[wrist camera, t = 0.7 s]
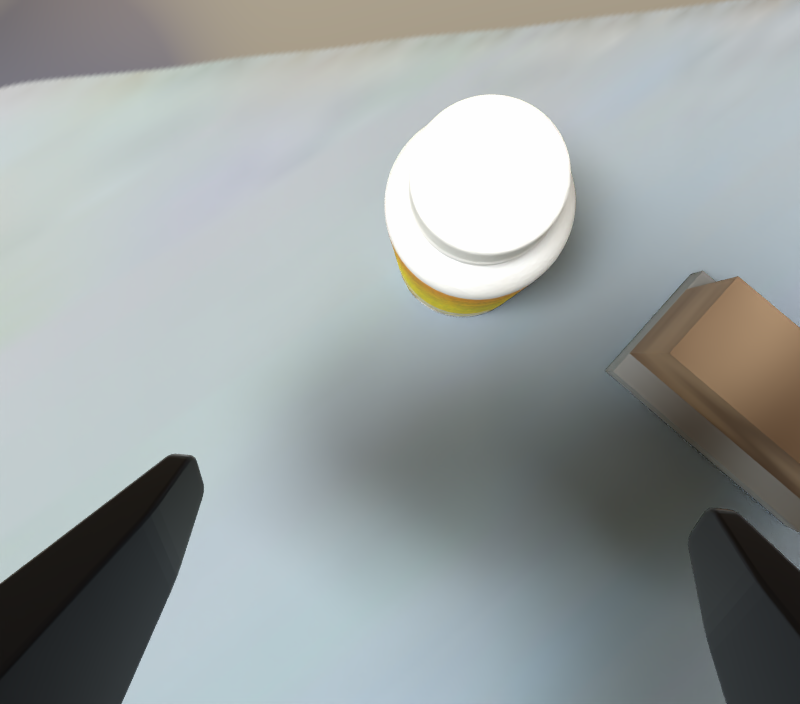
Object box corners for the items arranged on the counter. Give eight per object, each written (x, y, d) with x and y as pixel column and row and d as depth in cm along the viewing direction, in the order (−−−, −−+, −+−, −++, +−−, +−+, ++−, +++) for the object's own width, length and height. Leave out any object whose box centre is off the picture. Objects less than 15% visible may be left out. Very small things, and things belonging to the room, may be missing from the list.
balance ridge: (874, 429, 22) (992, 448, 17) (785, 525, 22) (878, 570, 17) (690, 274, 22) (757, 254, 18) (604, 370, 22) (649, 374, 18)
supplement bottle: (509, 330, 22) (577, 311, 12) (386, 303, 23) (352, 262, 13) (537, 206, 22) (629, 83, 12) (414, 180, 23) (402, 39, 12)
